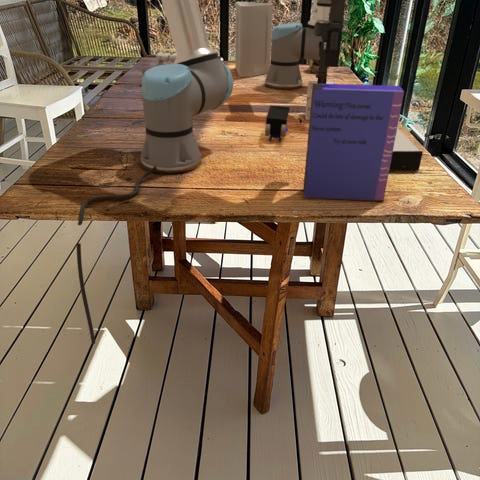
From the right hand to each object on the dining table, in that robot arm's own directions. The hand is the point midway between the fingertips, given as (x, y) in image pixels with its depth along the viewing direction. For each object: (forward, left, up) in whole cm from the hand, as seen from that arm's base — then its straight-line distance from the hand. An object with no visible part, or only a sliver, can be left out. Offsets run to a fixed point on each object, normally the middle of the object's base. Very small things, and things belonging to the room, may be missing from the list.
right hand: (320, 94), depth 154 cm
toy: (-85, -36, -8) cm, 93 cm away
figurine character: (+16, -18, -8) cm, 25 cm away
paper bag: (-72, -8, -8) cm, 73 cm away
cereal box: (+57, -13, -8) cm, 59 cm away
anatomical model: (-72, +22, -8) cm, 76 cm away
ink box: (0, 0, -8) cm, 8 cm away
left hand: (+48, -15, +19) cm, 54 cm away
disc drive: (+34, +5, -8) cm, 35 cm away
